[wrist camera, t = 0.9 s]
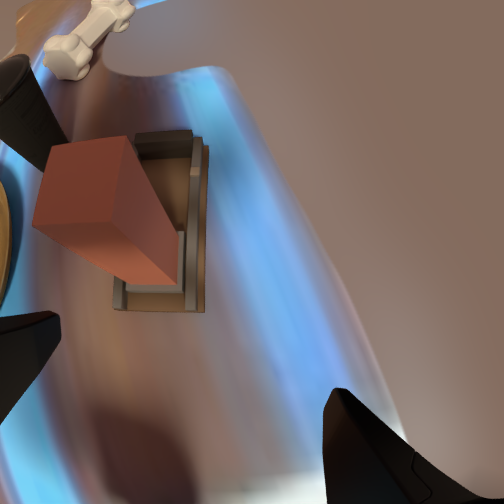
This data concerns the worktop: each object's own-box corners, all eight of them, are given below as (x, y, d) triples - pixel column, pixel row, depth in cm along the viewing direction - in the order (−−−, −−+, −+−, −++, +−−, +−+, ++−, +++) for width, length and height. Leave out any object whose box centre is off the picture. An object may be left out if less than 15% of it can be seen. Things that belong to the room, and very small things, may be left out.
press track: (204, 312, 26) (199, 308, 22) (117, 310, 26) (99, 305, 22) (209, 151, 30) (206, 127, 27) (134, 155, 30) (123, 133, 26)
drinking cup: (49, 127, 31) (-24, 17, 12) (91, 133, 31) (18, 0, 12) (20, 178, 29) (-77, 79, 10) (60, 189, 29) (-49, 69, 9)
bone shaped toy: (90, 86, 34) (75, 45, 26) (48, 82, 33) (30, 45, 25) (140, 27, 38) (136, -12, 30) (99, 24, 37) (92, -10, 30)
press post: (184, 293, 25) (118, 233, 11) (130, 292, 25) (23, 237, 10) (186, 235, 27) (136, 125, 12) (134, 236, 26) (48, 138, 12)
